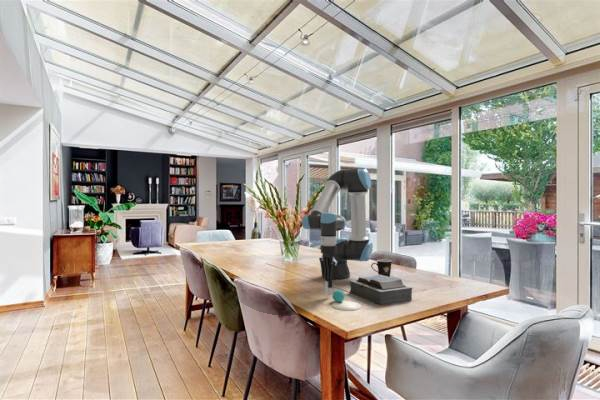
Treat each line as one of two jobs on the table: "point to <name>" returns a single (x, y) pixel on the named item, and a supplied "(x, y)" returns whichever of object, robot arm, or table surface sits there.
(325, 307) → the table surface
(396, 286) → the bible
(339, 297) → the ball
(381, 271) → the coffee mug
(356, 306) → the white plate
